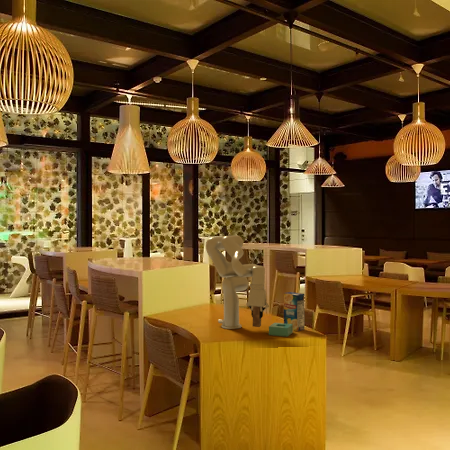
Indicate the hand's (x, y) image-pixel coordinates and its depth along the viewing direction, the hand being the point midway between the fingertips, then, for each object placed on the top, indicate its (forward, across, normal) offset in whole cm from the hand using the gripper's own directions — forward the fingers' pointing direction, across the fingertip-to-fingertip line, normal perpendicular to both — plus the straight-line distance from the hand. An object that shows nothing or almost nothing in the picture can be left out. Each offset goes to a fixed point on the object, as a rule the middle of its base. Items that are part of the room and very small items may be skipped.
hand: (257, 317), depth 308 cm
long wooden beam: (+5, 0, 0) cm, 5 cm away
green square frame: (+9, +14, +5) cm, 17 cm away
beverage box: (+10, +18, +20) cm, 28 cm away
